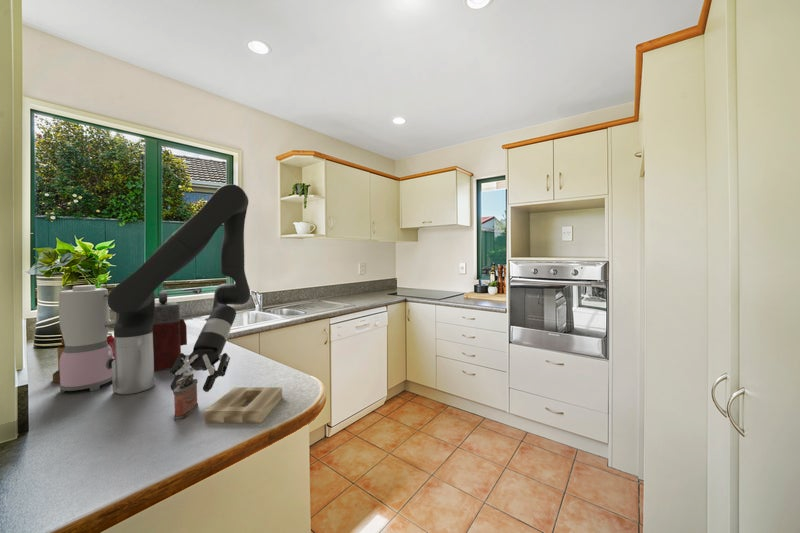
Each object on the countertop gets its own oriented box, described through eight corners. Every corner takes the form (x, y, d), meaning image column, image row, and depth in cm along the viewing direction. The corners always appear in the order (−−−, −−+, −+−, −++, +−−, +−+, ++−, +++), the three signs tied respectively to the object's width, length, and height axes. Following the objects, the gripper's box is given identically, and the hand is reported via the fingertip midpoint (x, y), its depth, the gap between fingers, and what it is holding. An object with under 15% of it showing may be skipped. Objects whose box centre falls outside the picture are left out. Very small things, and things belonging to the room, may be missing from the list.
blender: (48, 396, 95) (42, 288, 93) (78, 380, 106) (74, 284, 105) (111, 391, 98) (107, 287, 97) (134, 376, 110) (130, 283, 109)
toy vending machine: (188, 364, 122) (186, 291, 121) (151, 372, 114) (148, 293, 113) (184, 359, 128) (182, 289, 127) (149, 365, 121) (146, 291, 120)
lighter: (188, 405, 89) (187, 370, 88) (201, 405, 89) (200, 369, 89) (170, 420, 81) (169, 381, 80) (184, 420, 81) (183, 381, 81)
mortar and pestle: (62, 383, 105) (60, 328, 104) (47, 381, 106) (44, 327, 105) (86, 375, 111) (83, 323, 110) (71, 374, 112) (69, 323, 112)
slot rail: (205, 422, 80) (204, 410, 80) (234, 397, 94) (234, 387, 94) (261, 422, 80) (260, 410, 80) (282, 397, 94) (282, 387, 94)
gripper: (183, 330, 94) (155, 385, 83) (232, 330, 94) (209, 385, 83) (195, 343, 100) (170, 396, 89) (241, 343, 100) (221, 396, 89)
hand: (189, 390), depth 86 cm, fingers open, 8 cm apart
